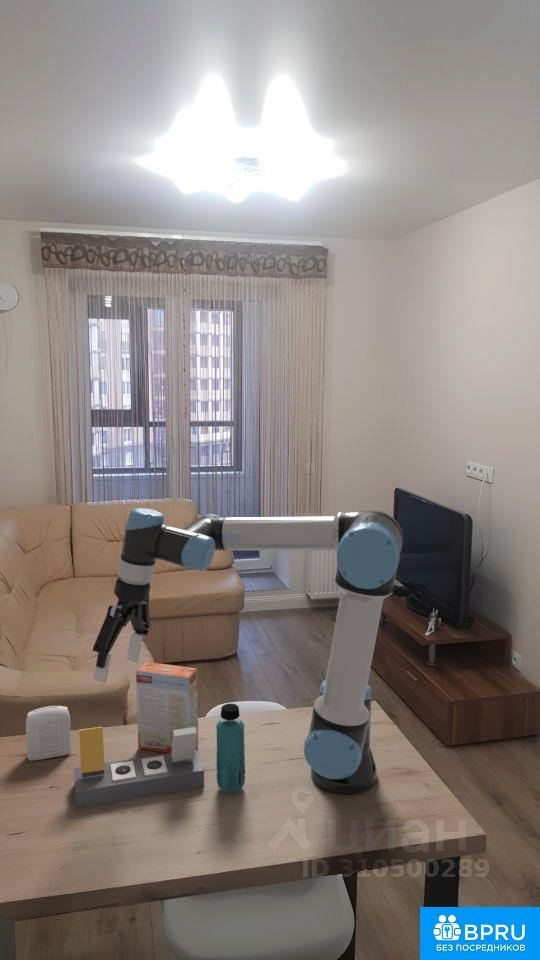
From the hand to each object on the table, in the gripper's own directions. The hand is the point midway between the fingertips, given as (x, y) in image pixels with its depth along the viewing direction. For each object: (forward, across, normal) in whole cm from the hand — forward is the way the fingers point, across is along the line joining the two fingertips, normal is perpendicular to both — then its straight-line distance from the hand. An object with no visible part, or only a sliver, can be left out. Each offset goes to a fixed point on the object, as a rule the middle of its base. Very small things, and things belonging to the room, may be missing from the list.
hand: (116, 670), depth 154 cm
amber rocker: (+23, +3, +1) cm, 23 cm away
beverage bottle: (+22, -8, +29) cm, 37 cm away
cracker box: (+25, -19, +8) cm, 32 cm away
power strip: (+26, -3, +10) cm, 28 cm away
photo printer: (+30, -7, -17) cm, 35 cm away
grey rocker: (+19, -8, +17) cm, 27 cm away
